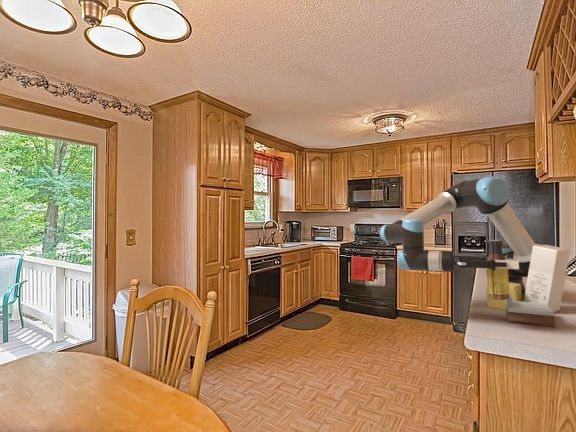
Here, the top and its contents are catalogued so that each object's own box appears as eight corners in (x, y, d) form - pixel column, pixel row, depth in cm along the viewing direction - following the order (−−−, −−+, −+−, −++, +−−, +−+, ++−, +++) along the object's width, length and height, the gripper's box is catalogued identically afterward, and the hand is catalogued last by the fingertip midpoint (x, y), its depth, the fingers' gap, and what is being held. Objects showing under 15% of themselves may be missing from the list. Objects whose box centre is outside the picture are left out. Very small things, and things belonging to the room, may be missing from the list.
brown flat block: (505, 312, 130) (505, 303, 130) (547, 316, 124) (546, 307, 124) (508, 322, 118) (508, 312, 118) (554, 327, 112) (554, 316, 112)
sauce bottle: (513, 298, 112) (511, 240, 112) (503, 301, 109) (501, 240, 109) (493, 295, 118) (491, 239, 118) (483, 297, 115) (481, 240, 115)
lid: (505, 302, 131) (504, 292, 131) (546, 306, 124) (545, 295, 124) (508, 311, 118) (508, 300, 118) (554, 316, 111) (554, 303, 112)
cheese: (494, 303, 146) (493, 280, 146) (523, 307, 138) (522, 283, 138) (486, 307, 139) (485, 283, 140) (516, 312, 131) (515, 286, 132)
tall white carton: (559, 311, 131) (570, 249, 128) (546, 313, 128) (557, 250, 124) (535, 302, 139) (545, 244, 136) (522, 304, 136) (532, 245, 132)
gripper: (444, 268, 130) (514, 271, 119) (439, 274, 114) (521, 279, 102) (443, 249, 131) (514, 250, 119) (438, 252, 114) (520, 255, 103)
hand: (517, 263), depth 111 cm, fingers closed on sauce bottle, 6 cm apart
